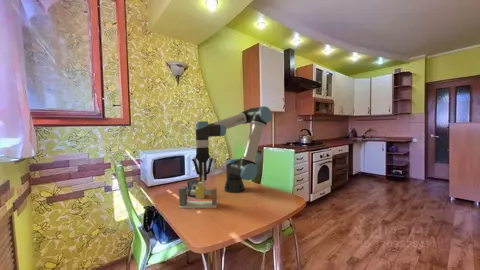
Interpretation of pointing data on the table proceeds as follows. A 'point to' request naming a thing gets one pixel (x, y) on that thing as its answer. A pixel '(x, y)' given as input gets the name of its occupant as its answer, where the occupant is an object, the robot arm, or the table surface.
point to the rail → (197, 204)
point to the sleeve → (200, 190)
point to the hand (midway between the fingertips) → (203, 185)
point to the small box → (193, 185)
